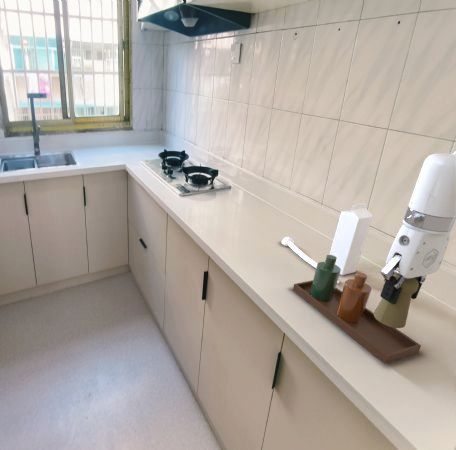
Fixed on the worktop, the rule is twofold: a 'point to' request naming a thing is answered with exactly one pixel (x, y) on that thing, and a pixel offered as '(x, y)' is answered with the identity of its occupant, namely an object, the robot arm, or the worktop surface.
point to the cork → (397, 305)
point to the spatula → (299, 251)
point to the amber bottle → (354, 299)
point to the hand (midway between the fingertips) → (397, 297)
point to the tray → (364, 328)
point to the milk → (351, 237)
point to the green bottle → (325, 279)
